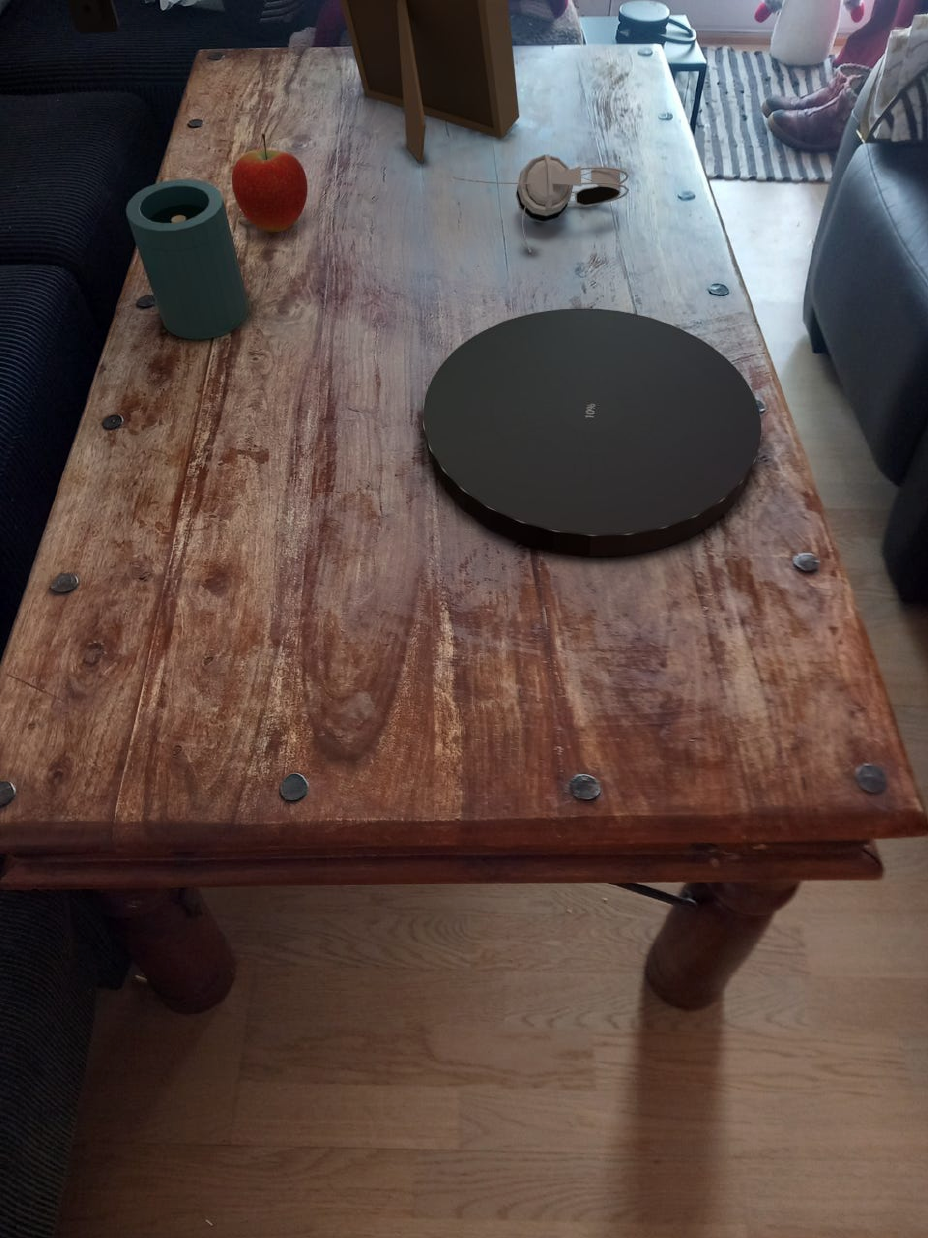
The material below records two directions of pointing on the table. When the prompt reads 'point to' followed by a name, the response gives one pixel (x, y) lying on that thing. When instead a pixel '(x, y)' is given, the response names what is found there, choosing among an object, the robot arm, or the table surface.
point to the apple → (270, 188)
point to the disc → (591, 431)
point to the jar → (189, 257)
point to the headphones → (561, 188)
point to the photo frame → (437, 62)
